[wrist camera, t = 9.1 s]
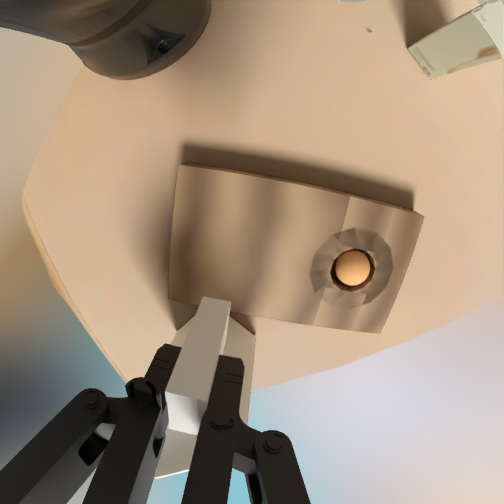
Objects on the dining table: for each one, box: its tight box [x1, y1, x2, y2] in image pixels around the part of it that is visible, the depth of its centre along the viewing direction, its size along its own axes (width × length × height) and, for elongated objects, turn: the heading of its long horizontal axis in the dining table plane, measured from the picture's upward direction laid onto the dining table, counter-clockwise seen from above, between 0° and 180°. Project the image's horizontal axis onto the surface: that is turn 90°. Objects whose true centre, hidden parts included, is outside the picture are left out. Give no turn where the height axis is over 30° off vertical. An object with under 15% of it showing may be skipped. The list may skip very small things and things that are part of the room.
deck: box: [168, 163, 424, 334], centre depth 28 cm, size 24×14×2 cm, turn 80°
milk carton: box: [154, 316, 256, 478], centre depth 25 cm, size 7×7×19 cm
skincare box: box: [408, 0, 504, 79], centre depth 14 cm, size 6×4×12 cm
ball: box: [335, 250, 370, 285], centre depth 28 cm, size 4×4×4 cm
